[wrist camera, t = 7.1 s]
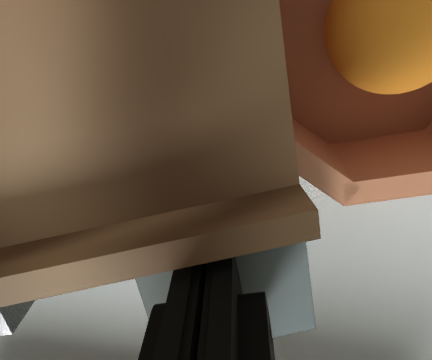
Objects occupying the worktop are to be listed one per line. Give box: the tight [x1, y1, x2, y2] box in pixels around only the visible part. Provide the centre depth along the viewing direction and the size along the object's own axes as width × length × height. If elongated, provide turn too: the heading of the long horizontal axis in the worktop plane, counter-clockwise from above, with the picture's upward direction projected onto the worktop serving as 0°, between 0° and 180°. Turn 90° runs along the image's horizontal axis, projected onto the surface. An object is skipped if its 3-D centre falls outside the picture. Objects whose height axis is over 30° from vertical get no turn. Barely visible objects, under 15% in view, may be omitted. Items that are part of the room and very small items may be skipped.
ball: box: [325, 0, 432, 94], centre depth 12 cm, size 4×4×4 cm
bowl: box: [279, 0, 432, 206], centre depth 12 cm, size 10×10×4 cm
